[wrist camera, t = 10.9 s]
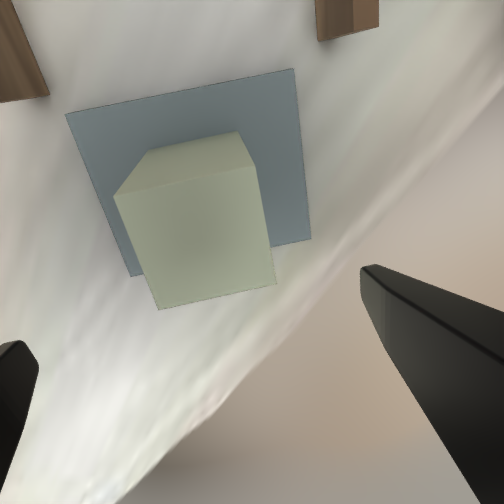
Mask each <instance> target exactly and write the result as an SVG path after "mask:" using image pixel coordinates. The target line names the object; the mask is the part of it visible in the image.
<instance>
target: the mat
mask: <svg viewBox="0 0 504 504" xmlns="http://www.w3.org/2000/svg"><path fill="white" fill-rule="evenodd" d="M65 117H66V119H67V122H68V124H69V127H70V129H71V131H72V134H73V136H74V139H75V141H76V144H77V146H78V149H79V151H80V153H81V156H82V158H83V161H84V163H85V166H86V168H87V171H88V173H89V176H90V178H91V180H92V183H93V185H94V188H95V190H96V193H97V195H98V198H99V200H100V203H101V205H102V207H103V210H104V212H105V215H106V217H107V220H108V222H109V225H110V227H111V230H112V232H113V234H114V237H115V239H116V242H117V244H118V247H119V249H120V252H121V254H122V256H123V259H124V261H125V264H126V266H127V269H128V271H129V274H130V276H131V277H132V276H137V275H142V274H144V273H143V270H142V268H141V265H140V263H139V260H138V258H137V255H136V253H135V250H134V248H133V245H132V243H131V240H130V238H129V235H128V233H127V230H126V228H125V225H124V223H123V220H122V218H121V215H120V213H119V210H118V208H117V205H116V203H115V200H114V198H113V196H114V195H115V193H116V192H117V191H118V189H119V188H120V187H121V185H122V184H123V183H124V181H125V180H126V179H127V177H128V176H129V175H130V173H131V172H132V171H133V169H134V168H135V167H136V166H137V164H138V163H139V162H140V160H141V159H142V158H143V156H144V155H145V154H146V152H147V151H148V150H150V149H155V148H160V147H164V146H169V145H173V144H178V143H183V142H187V141H192V140H196V139H201V138H206V137H210V136H215V135H219V134H224V133H229V132H233V131H238V133H239V135H240V137H241V139H242V141H243V143H244V144H245V146H246V148H247V150H248V152H249V154H250V156H251V158H252V160H253V162H254V164H255V168H256V173H257V178H258V184H259V189H260V195H261V200H262V206H263V211H264V216H265V222H266V227H267V233H268V238H269V243H270V248H271V247H275V246H280V245H285V244H290V243H294V242H299V241H304V240H309V239H311V231H310V221H309V211H308V202H307V192H306V182H305V173H304V163H303V153H302V143H301V134H300V124H299V114H298V104H297V95H296V85H295V75H294V69H288V70H283V71H278V72H273V73H268V74H263V75H258V76H253V77H248V78H243V79H238V80H233V81H228V82H223V83H218V84H213V85H208V86H203V87H198V88H193V89H188V90H183V91H178V92H173V93H168V94H163V95H158V96H153V97H148V98H143V99H138V100H133V101H128V102H123V103H118V104H113V105H108V106H103V107H98V108H93V109H88V110H83V111H78V112H73V113H68V114H65Z"/></svg>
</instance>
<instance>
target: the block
mask: <svg viewBox="0 0 504 504" xmlns="http://www.w3.org/2000/svg"><path fill="white" fill-rule="evenodd" d="M113 198H114V200H115V203H116V205H117V208H118V210H119V213H120V215H121V218H122V220H123V223H124V225H125V228H126V230H127V233H128V235H129V238H130V240H131V243H132V245H133V248H134V250H135V253H136V255H137V258H138V260H139V263H140V265H141V268H142V270H143V273H144V275H145V278H146V280H147V283H148V285H149V288H150V290H151V293H152V295H153V298H154V300H155V303H156V305H157V307H158V310H162V309H167V308H171V307H175V306H180V305H184V304H189V303H193V302H198V301H202V300H207V299H211V298H216V297H220V296H225V295H229V294H234V293H238V292H243V291H247V290H252V289H256V288H261V287H265V286H270V285H274V284H277V281H276V276H275V271H274V265H273V260H272V254H271V249H270V243H269V238H268V233H267V227H266V222H265V216H264V211H263V206H262V200H261V195H260V189H259V184H258V178H257V173H256V168H255V164H254V162H253V160H252V158H251V156H250V154H249V152H248V150H247V148H246V146H245V144H244V143H243V141H242V139H241V137H240V135H239V133H238V131H233V132H229V133H224V134H219V135H215V136H210V137H206V138H201V139H196V140H192V141H187V142H183V143H178V144H173V145H169V146H164V147H160V148H155V149H150V150H148V151H147V152H146V154H145V155H144V156H143V158H142V159H141V160H140V162H139V163H138V164H137V166H136V167H135V168H134V169H133V171H132V172H131V173H130V175H129V176H128V177H127V179H126V180H125V181H124V183H123V184H122V185H121V187H120V188H119V189H118V191H117V192H116V193H115V195H114V196H113Z"/></svg>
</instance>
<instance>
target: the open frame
mask: <svg viewBox="0 0 504 504" xmlns="http://www.w3.org/2000/svg"><path fill="white" fill-rule="evenodd" d="M315 9H316V23H317V38H318V41H323V40H328V39H333V38H338V37H341V36H345V35H349V34H353V33H357V32H360V31H364V30H368V29H372V28H376V27H379V0H315ZM46 95H50V93H49V91H48V89H47V86H46V84H45V81H44V79H43V77H42V74H41V72H40V69H39V67H38V65H37V62H36V60H35V57H34V55H33V52H32V50H31V48H30V45H29V43H28V40H27V38H26V36H25V33H24V31H23V28H22V26H21V24H20V21H19V19H18V16H17V14H16V12H15V9H14V7H13V4H12V2H11V0H0V103H5V102H11V101H18V100H24V99H31V98H36V97H41V96H46Z"/></svg>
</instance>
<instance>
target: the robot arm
mask: <svg viewBox="0 0 504 504" xmlns="http://www.w3.org/2000/svg"><path fill="white" fill-rule="evenodd" d="M360 291H361V297H362V301H363V303H364V305H365V307H366V310H367V311H368V314H369V316H370V318H371V320H372V322H373V324H374V327H375V329H376V331H377V333H378V335H379V338H380V339H381V342H382V344H383V346H384V348H385V350H386V351H387V353H388V355H389V356H390V358H391V360H392V361H393V363H394V364H395V366H396V368H397V369H398V371H399V373H400V374H401V376H402V378H403V379H404V381H405V382H406V384H407V386H408V387H409V389H410V390H411V392H412V394H413V395H414V397H415V399H416V400H417V402H418V403H419V405H420V406H421V408H422V410H423V411H424V413H425V415H426V416H427V418H428V420H429V421H430V423H431V424H432V426H433V428H434V429H435V431H436V432H437V434H438V436H439V437H440V439H441V440H442V442H443V444H444V445H445V447H446V449H447V450H448V452H449V454H450V455H451V457H452V458H453V460H454V462H455V463H456V465H457V466H458V468H459V470H460V471H461V473H462V474H463V476H464V478H465V479H466V481H467V483H468V484H469V486H470V488H471V489H472V491H473V492H474V494H475V496H476V497H477V499H478V500H479V502H480V504H504V312H502V311H499V310H497V309H494V308H491V307H489V306H486V305H483V304H481V303H478V302H475V301H473V300H470V299H467V298H465V297H462V296H460V295H457V294H454V293H452V292H449V291H446V290H444V289H441V288H438V287H436V286H433V285H430V284H428V283H425V282H422V281H420V280H417V279H414V278H412V277H409V276H407V275H404V274H401V273H399V272H396V271H394V270H391V269H388V268H386V267H383V266H380V265H377V264H373V265H369V266H364V267H362V268H361V270H360ZM38 372H39V365H38V362H37V360H36V359H35V357H34V356H33V354H32V352H31V351H30V349H29V348H28V346H27V345H26V343H25V342H23V341H21V340H17V341H12V342H7V343H4V344H2V345H0V493H1V490H2V487H3V484H4V482H5V479H6V476H7V473H8V471H9V468H10V465H11V463H12V460H13V457H14V454H15V452H16V449H17V446H18V443H19V441H20V438H21V435H22V432H23V429H24V426H25V422H26V419H27V415H28V411H29V407H30V404H31V400H32V396H33V392H34V388H35V384H36V380H37V376H38Z"/></svg>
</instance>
